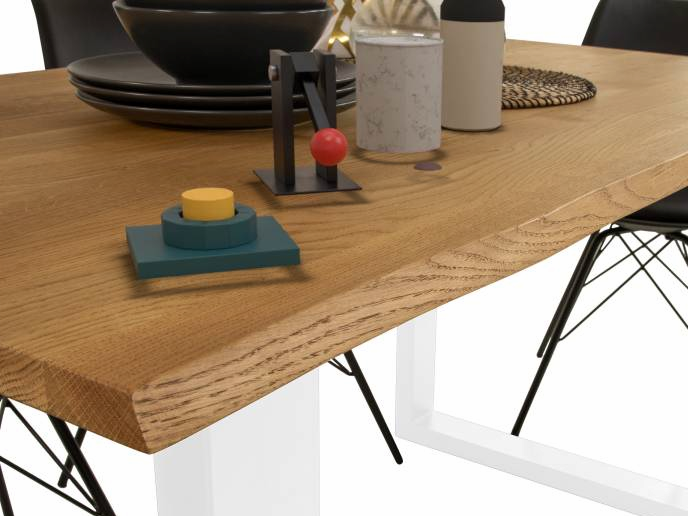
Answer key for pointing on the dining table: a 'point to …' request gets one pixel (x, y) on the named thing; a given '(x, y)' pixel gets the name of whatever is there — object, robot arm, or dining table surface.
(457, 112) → the travel mug
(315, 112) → the lever
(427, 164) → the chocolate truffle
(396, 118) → the white marbled canister
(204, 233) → the control block
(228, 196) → the button
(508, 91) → the dining table surface
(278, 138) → the bracket
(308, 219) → the dining table surface
